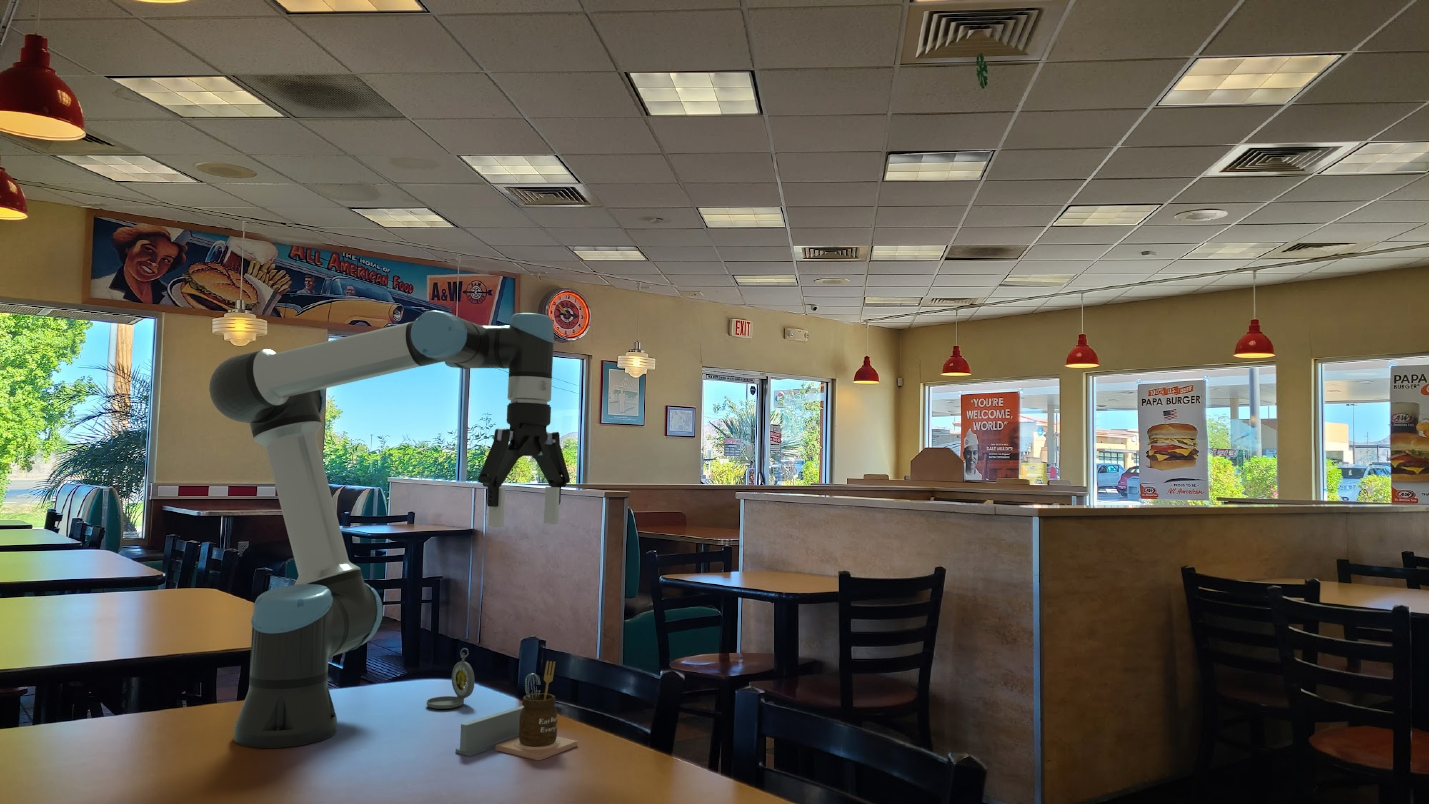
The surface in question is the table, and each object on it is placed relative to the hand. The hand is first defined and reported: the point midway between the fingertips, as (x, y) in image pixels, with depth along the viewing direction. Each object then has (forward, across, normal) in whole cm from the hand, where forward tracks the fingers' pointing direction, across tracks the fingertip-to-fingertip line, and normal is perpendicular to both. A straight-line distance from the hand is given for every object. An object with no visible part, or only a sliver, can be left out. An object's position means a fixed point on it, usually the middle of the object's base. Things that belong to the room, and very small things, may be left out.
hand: (524, 525), depth 163 cm
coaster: (+34, -7, -11) cm, 37 cm away
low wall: (+34, -7, -4) cm, 35 cm away
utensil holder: (+33, -7, -11) cm, 36 cm away
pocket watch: (+34, +3, +20) cm, 40 cm away
